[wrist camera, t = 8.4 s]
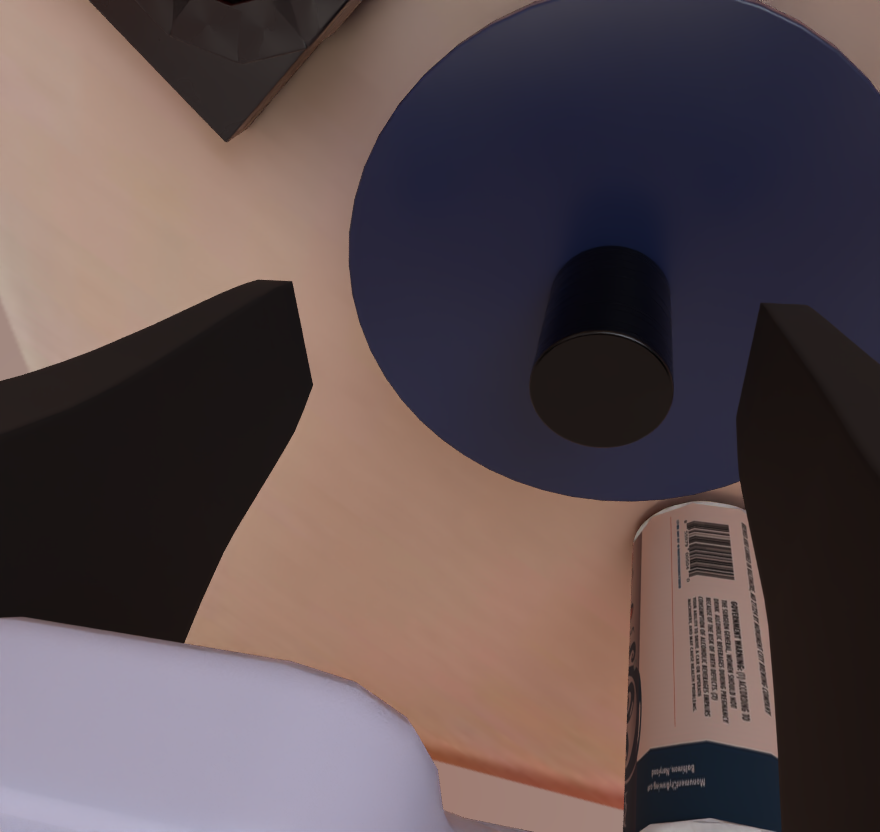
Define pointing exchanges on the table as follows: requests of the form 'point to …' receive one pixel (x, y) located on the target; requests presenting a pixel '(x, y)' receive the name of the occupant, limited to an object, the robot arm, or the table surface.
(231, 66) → the control block
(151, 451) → the robot arm
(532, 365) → the lid
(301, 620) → the table surface
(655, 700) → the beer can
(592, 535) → the table surface
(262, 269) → the table surface
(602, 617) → the table surface
